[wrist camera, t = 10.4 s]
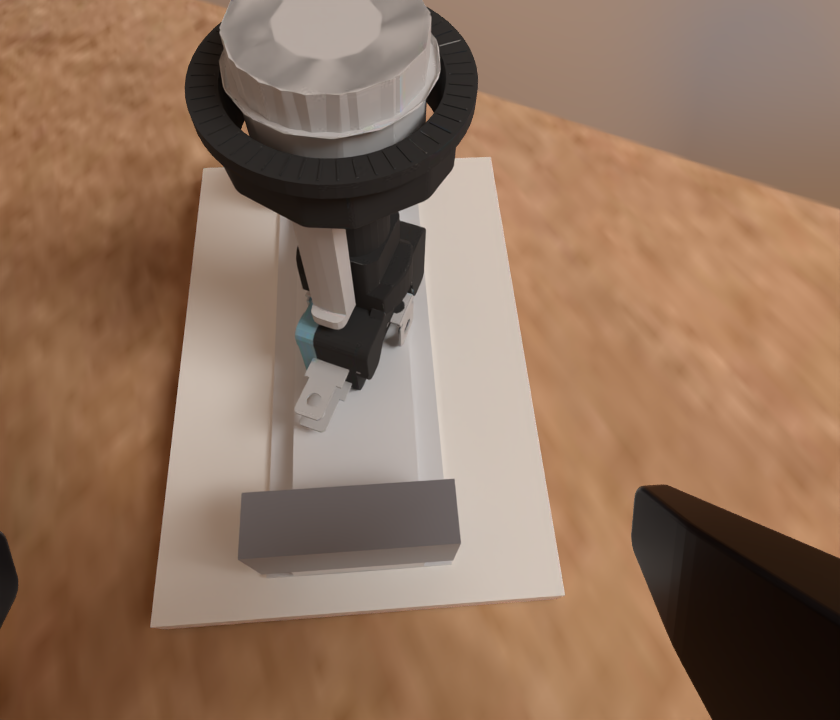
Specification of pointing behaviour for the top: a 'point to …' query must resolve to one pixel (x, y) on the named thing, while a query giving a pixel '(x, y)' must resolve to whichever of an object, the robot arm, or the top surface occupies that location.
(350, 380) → the push button
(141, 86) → the top surface
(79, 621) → the top surface
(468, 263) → the rail board
